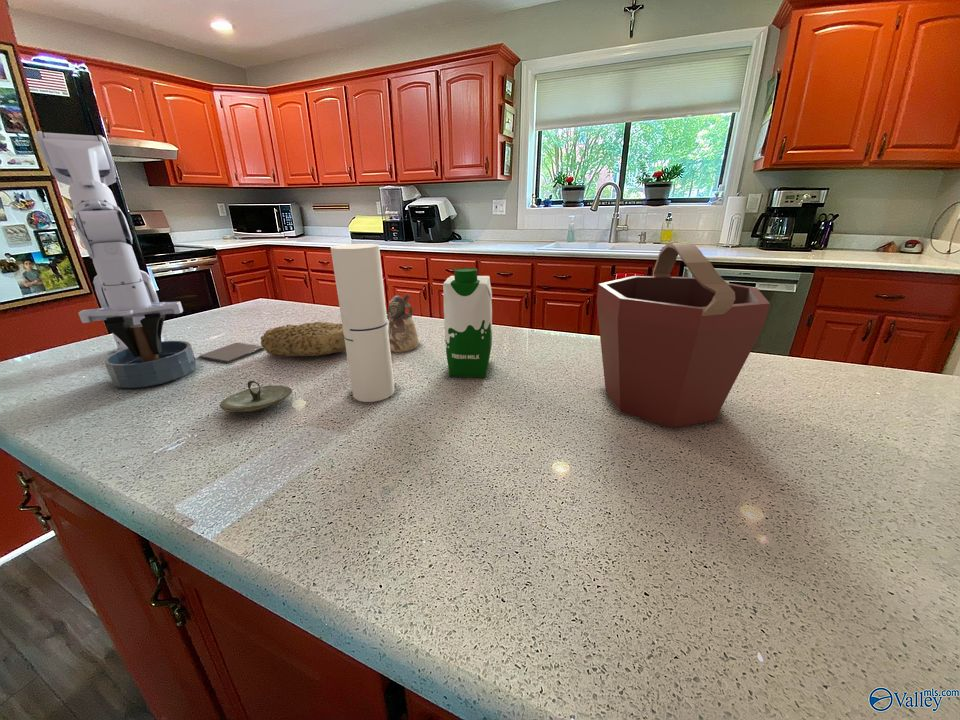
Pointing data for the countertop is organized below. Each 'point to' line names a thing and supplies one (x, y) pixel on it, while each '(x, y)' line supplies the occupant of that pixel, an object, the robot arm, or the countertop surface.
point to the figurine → (401, 325)
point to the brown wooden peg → (143, 343)
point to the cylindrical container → (364, 320)
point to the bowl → (151, 365)
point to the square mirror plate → (231, 352)
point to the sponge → (304, 339)
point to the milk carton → (468, 323)
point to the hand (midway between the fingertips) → (148, 353)
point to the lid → (255, 398)
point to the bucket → (676, 338)
